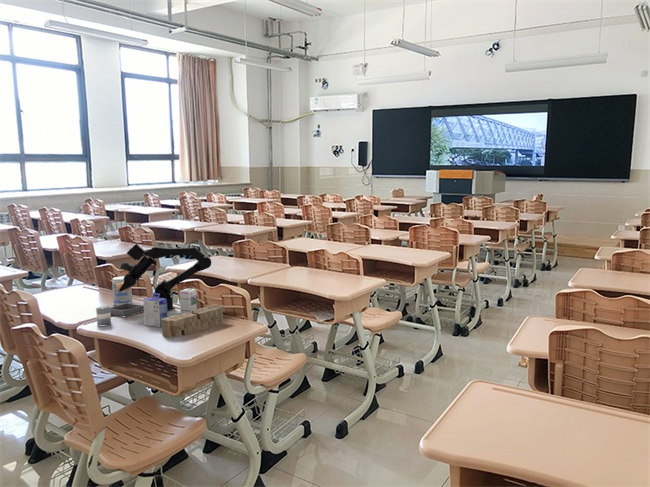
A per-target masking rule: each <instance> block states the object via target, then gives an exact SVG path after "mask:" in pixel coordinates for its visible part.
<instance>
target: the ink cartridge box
mask: <svg viewBox="0 0 650 487" xmlns="http://www.w3.org/2000/svg"><path fill="white" fill-rule="evenodd" d="M157 295H158V296H157ZM159 296H160V294H159V293H155V292H154V293H153V294H152V297H148V298H144V299H143V300H142V301H143V305H144V311H143V317H144V318H143V321H144V322H143V323H144V326H150V327H159V328H162V325H161V319H163V318H167V317H169V314H168V313H169V312H168V311H167V299H164V298H159Z"/></svg>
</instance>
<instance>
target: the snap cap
mask: <svg viewBox="0 0 650 487" xmlns="http://www.w3.org/2000/svg"><path fill="white" fill-rule="evenodd" d="M122 285H123V283H118V284H116V287H117V291H119V289H120V288H121V286H122ZM131 288H132V287H129V288H127V289H125V290H123V291H126V290H130V289H131Z"/></svg>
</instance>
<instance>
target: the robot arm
mask: <svg viewBox="0 0 650 487" xmlns="http://www.w3.org/2000/svg"><path fill="white" fill-rule="evenodd" d="M126 254H127V256H129V257H130V258H131V259H133V260H134V261H138V262H137V263H136V264H135V265H134V264H131V263H130V262H127V261H123V262H121V265H120V267H119V269H120V270H123V271H127V273H126V275H125V277H124V283H123V285H122V286H121V288H120V289H119V291H120V292H121V291H123V290H125V289H127V288H129V287H131V288H132V287H134V286H135V285H137V283H138V281H139V280H140V279H141V277H142V276H144V274H145V273H146V272H147V270H149V269H150V268H151V267H152V266H155V267H156V266H158V260H157V259H161V258H165V257H170V256H171V257H173V256H175V257H176V256H193V258H194V259H195V260H197V261H196V262H195V263H194V264H193V265H191V266H190V267H188V268H187V269H186V270H183V271H182V272H181V273H178V274H177V275H176V276H174V277H172V278H171V279H169V280H166V278H164V279H163V280H162V281H160V282H157V285H156V287H155V288H154V293H159V294H160V296H159V298H164V299H167V311H172V310H176V307H174V302H173V297H172V295H173V294H172V293H173V292H172V289H173V288H174V287H175V286H177V285H179V284H180V283H183V281H185V280H187V279H188V278H189V277H191V276H193V275H195V274H196V273H198V272H201V271H204V270H207V269H209V268H211V266H212V259H211V257H209V255H205V254H204V253H203V252H201V251H200V250H199V249H198V248H197V247H196V246H191V247H164V246H158V245H155V246H152V247H151V248H150V249H145V250H144V249H143V248H142V247H141V246H140V245H139V244H138V243H135V244H134V245H133V246H132V247H131V248H129V250H128V251H127V252H126ZM156 296H157V297H158V295H156Z"/></svg>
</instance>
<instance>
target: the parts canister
mask: <svg viewBox="0 0 650 487" xmlns="http://www.w3.org/2000/svg"><path fill="white" fill-rule="evenodd" d="M110 308H111V307H110V306H109V305H104V306H98V307H96V308H95V313H96V322H97V323H96V324H97V326H98V325H108V326H110V325H112V317H111V316H112V315H111V314H110ZM109 324H110V325H109Z"/></svg>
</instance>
